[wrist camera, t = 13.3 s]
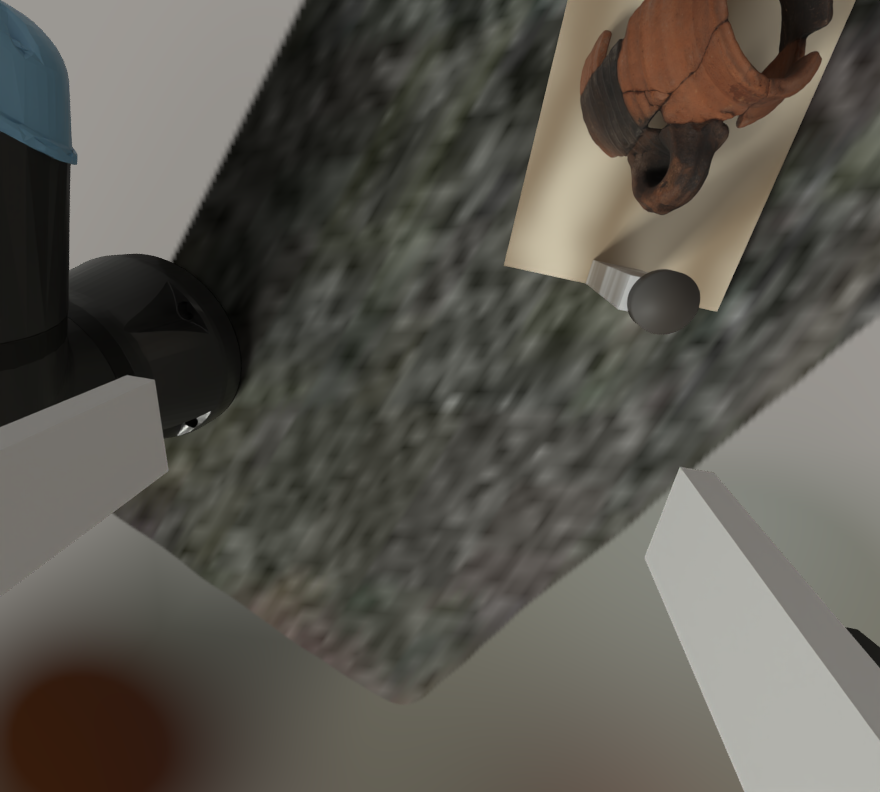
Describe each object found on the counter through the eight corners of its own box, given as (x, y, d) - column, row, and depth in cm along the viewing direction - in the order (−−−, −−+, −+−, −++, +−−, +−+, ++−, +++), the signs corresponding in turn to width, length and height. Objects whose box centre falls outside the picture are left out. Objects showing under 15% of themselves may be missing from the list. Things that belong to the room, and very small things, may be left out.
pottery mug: (573, -3, 24) (708, -170, 16) (703, 43, 27) (870, -78, 19) (555, 223, 25) (671, 172, 17) (680, 244, 28) (827, 208, 20)
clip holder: (502, 272, 30) (493, 297, 19) (609, -174, 22) (709, -605, 10) (705, 316, 29) (824, 371, 18) (903, -136, 21) (1369, -574, 9)
